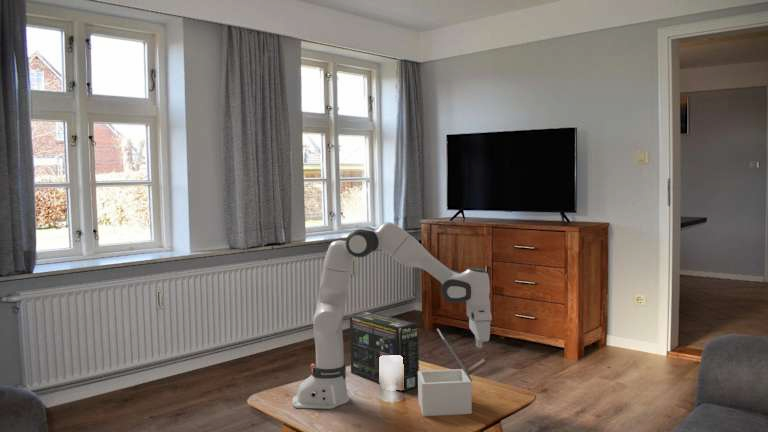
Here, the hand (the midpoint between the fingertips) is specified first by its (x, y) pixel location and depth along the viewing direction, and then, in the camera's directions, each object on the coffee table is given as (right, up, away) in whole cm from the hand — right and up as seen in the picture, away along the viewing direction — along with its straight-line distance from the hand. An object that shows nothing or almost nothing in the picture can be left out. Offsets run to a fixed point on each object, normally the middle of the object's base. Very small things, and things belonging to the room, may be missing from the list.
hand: (479, 347), depth 234 cm
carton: (-13, -23, +1) cm, 26 cm away
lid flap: (-10, -3, 0) cm, 10 cm away
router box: (-36, -22, +35) cm, 54 cm away
